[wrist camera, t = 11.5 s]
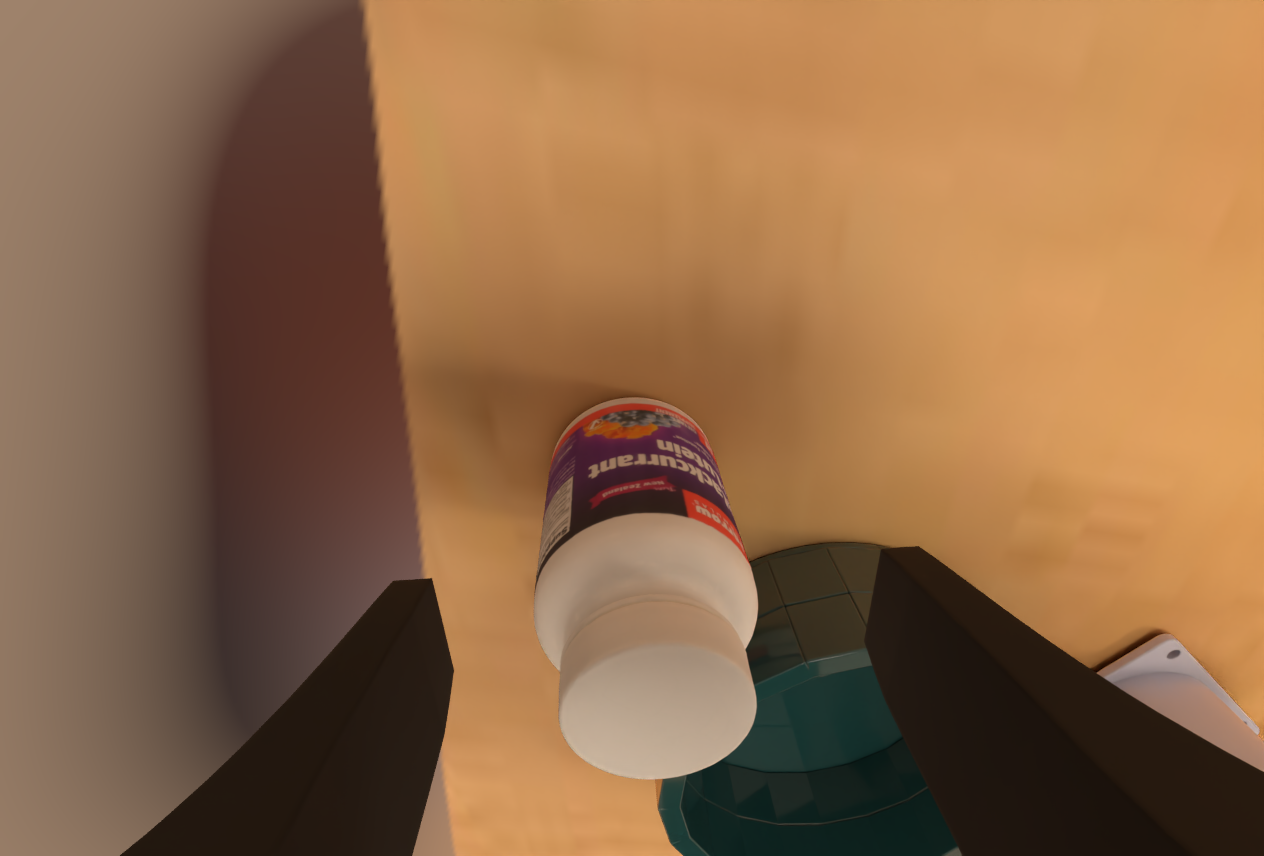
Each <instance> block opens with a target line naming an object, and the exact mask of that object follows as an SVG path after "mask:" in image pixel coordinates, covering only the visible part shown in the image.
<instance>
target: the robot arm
mask: <svg viewBox="0 0 1264 856" xmlns="http://www.w3.org/2000/svg"><path fill="white" fill-rule="evenodd" d="M864 643H865V645H866V648H867V651H868V654H869V657H870V660H871V663H872V666H873V669H874V672H875V675H876V677H877V680H878V683H879V685H880V688H881V691H882V694H883V696H884V699H885V701H886V704H887V706H888V708H889V710H890V712H891V714H892V716H893V718H894V720H895V722H896V724H897V726H898V728H899V730H900V732H901V734H902V736H903V738H904V740H905V742H906V744H907V746H908V748H909V750H910V752H911V754H912V756H913V758H914V760H915V762H916V764H917V766H918V768H919V770H920V772H921V774H922V776H923V778H924V780H925V782H926V784H927V786H928V788H929V790H930V792H931V794H932V796H933V798H934V800H935V802H936V804H937V806H938V808H939V810H940V812H941V814H942V816H943V818H944V820H945V822H946V824H947V826H948V828H949V830H950V832H951V834H952V836H953V838H954V840H955V842H956V844H957V846H958V848H959V850H960V852H961V855H962V856H1264V741H1263V740H1262V739H1261V738H1260V737H1259V736H1258V734H1259V731H1260V730H1259V728H1258V726H1257V725H1256V724H1255V723H1254V722H1253V721H1252V720H1251V719H1250V718H1249V717H1248V716H1247V715H1246V713H1245V712H1244V711H1243V710H1242V709H1241V708H1240V707H1239V706H1238V705H1237V704H1236V703H1235V702H1234V700H1233V699H1232V698H1231V697H1230V696H1229V695H1228V694H1227V693H1226V692H1225V691H1224V690H1223V689H1222V687H1221V686H1220V685H1219V684H1218V683H1217V682H1216V681H1215V680H1214V679H1213V678H1212V677H1211V676H1210V674H1209V673H1208V672H1207V671H1206V670H1205V669H1204V668H1203V667H1202V666H1201V665H1200V664H1199V663H1198V661H1197V660H1196V659H1195V658H1194V657H1193V656H1192V655H1191V654H1190V653H1189V652H1188V651H1187V650H1186V648H1185V647H1184V646H1183V645H1182V644H1181V643H1180V642H1179V641H1178V640H1177V639H1176V638H1175V637H1174V636H1173V635H1171V634H1160V635H1158V636H1156V637H1154V638H1153V639H1151V640H1149V641H1148V642H1146V643H1144V644H1143V645H1141V646H1139V647H1138V648H1136V649H1134V650H1133V651H1131V652H1129V653H1128V654H1126V655H1124V656H1123V657H1121V658H1119V659H1118V660H1116V661H1114V662H1113V663H1111V664H1109V665H1108V666H1106V667H1105V668H1103V669H1101V670H1100V671H1098V672H1094V671H1093V670H1091V669H1090V668H1088V667H1086V666H1085V665H1083V664H1082V663H1080V662H1079V661H1077V660H1076V659H1074V658H1073V657H1071V656H1070V655H1069V654H1067V653H1066V652H1064V651H1063V650H1061V649H1060V648H1058V647H1057V646H1055V645H1054V644H1052V643H1051V642H1050V641H1048V640H1047V639H1045V638H1044V637H1043V636H1041V635H1040V634H1038V633H1037V632H1035V631H1034V630H1033V629H1031V628H1030V627H1028V626H1027V625H1026V624H1024V623H1023V622H1021V621H1020V620H1019V619H1017V618H1016V617H1014V616H1013V615H1012V614H1010V613H1009V612H1008V611H1006V610H1005V609H1004V608H1002V607H1001V606H999V605H998V604H997V603H995V602H994V601H993V600H991V599H990V598H989V597H987V596H986V595H985V594H983V593H982V592H981V591H979V590H978V589H976V588H975V587H974V586H972V585H971V584H970V583H968V582H967V581H966V580H964V579H963V578H962V577H960V576H959V575H958V574H956V573H955V572H954V571H952V570H951V569H950V568H948V567H947V566H945V565H944V564H943V563H941V562H940V561H939V560H937V559H936V558H934V557H933V556H932V555H930V554H929V553H927V552H926V551H924V550H923V549H922V548H920V547H919V546H915V547H900V548H885V549H881V552H880V557H879V562H878V568H877V573H876V579H875V584H874V590H873V595H872V600H871V606H870V611H869V617H868V622H867V627H866V633H865V638H864ZM453 673H454V668H453V664H452V660H451V656H450V652H449V648H448V643H447V639H446V635H445V631H444V627H443V622H442V618H441V614H440V610H439V606H438V602H437V597H436V593H435V589H434V585H433V581H432V578H430V579H415V580H399V581H393V582H392V583H391V584H390V585H389V586H388V587H387V588H386V589H385V590H384V592H383V593H382V594H381V595H380V596H379V597H378V598H377V600H376V601H375V602H374V603H373V604H372V605H371V606H370V608H369V609H368V610H367V611H366V612H365V613H364V614H363V616H362V617H361V618H360V619H359V620H358V622H357V623H356V624H355V625H354V626H353V627H352V629H351V630H350V631H349V632H348V633H347V634H346V635H345V637H344V638H343V639H342V640H341V641H340V642H339V643H338V645H337V646H336V647H335V648H334V649H333V650H332V652H331V653H330V654H329V655H328V656H327V657H326V658H325V659H324V660H323V661H322V663H321V664H320V665H319V666H318V667H317V668H316V669H315V670H314V671H313V672H312V674H311V675H310V676H309V677H308V678H307V679H306V680H305V681H304V682H303V683H302V685H301V686H300V687H299V688H298V689H297V690H296V691H295V692H294V693H293V694H292V695H291V697H290V698H289V699H288V700H287V701H286V702H285V703H284V704H283V705H282V706H281V707H280V708H279V709H278V710H277V711H276V712H275V713H274V714H273V715H272V716H271V717H270V718H269V719H268V720H267V721H266V722H265V723H264V724H263V725H262V726H261V728H259V730H258V731H257V732H256V733H255V734H254V735H253V736H252V737H251V738H250V739H249V740H248V741H247V742H246V743H245V744H244V745H243V746H242V747H241V748H240V749H239V750H238V751H237V752H236V753H235V754H234V755H233V756H232V757H231V758H230V759H229V760H228V761H227V762H225V763H224V764H223V765H222V766H221V767H220V768H219V769H218V770H217V771H216V772H215V773H214V774H213V775H212V776H211V777H210V778H209V779H208V780H207V781H205V782H204V783H203V784H202V785H201V786H200V787H199V788H198V789H197V790H196V791H194V792H193V794H191V795H190V796H189V797H188V798H187V799H185V800H184V801H183V802H182V803H181V804H180V805H179V806H178V807H177V808H175V809H174V811H172V812H171V813H170V814H169V815H168V816H166V817H165V818H164V819H163V820H162V821H161V822H160V823H158V824H157V825H156V826H155V827H154V828H153V829H152V830H150V831H149V832H148V833H147V834H146V835H145V836H143V837H142V838H141V839H140V840H138V841H137V842H136V843H135V844H133V845H132V846H131V847H130V848H129V849H127V850H126V851H125V852H124V853H122V854H121V855H120V856H412V854H413V850H414V846H415V843H416V839H417V836H418V832H419V828H420V824H421V821H422V817H423V813H424V809H425V806H426V802H427V799H428V795H429V791H430V787H431V783H432V780H433V776H434V772H435V769H436V765H437V761H438V757H439V753H440V750H441V746H442V742H443V738H444V734H445V728H446V721H447V715H448V709H449V702H450V695H451V687H452V680H453Z"/></svg>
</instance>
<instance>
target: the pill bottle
mask: <svg viewBox="0 0 1264 856" xmlns="http://www.w3.org/2000/svg"><path fill="white" fill-rule="evenodd" d="M757 613H758V597H757V589H756V585H755V581H754V577H753V572H752V569H751V566H750V563H749V561H748V558H747V555H746V552H745V550H744V547H743V543H742V540H741V537H740V535H739V532H738V529H737V526H736V523H735V520H734V517H733V514H732V511H731V508H730V504H729V501H728V498H727V495H726V492H725V489H724V486H723V482H722V479H721V476H720V473H719V469H718V466H717V463H716V460H715V456H714V453H713V451H712V449H711V447H710V444H709V442H708V440H707V438H706V436H705V434H704V432H703V431H702V429H701V428H700V427H699V425H698V424H697V423H696V422H695V421H694V420H693V419H692V418H691V417H689V416H688V415H687V414H686V413H684V412H683V411H681V410H680V409H678V408H676V407H674V406H672V405H670V404H668V403H665V402H662V401H659V400H654V399H650V398H639V397H629V398H619V399H614V400H610V401H606V402H603V403H601V404H598V405H596V406H594V407H592V408H590V409H588V410H587V411H585V412H583V413H582V414H581V415H579V416H578V417H577V418H576V419H574V420H573V421H572V422H571V423H570V424H569V426H568V427H567V428H566V429H565V431H564V432H563V434H562V435H561V437H560V438H559V440H558V442H557V444H556V447H555V449H554V453H553V456H552V461H551V466H550V471H549V479H548V488H547V495H546V503H545V511H544V518H543V528H542V536H541V545H540V553H539V562H538V570H537V575H536V585H535V598H534V622H535V629H536V633H537V636H538V639H539V642H540V644H541V647H542V649H543V650H544V652H545V654H546V655H547V657H548V658H549V660H550V661H551V663H552V664H553V665H554V666H555V667H556V668H557V669H558V670H559V671H560V683H559V724H560V728H561V731H562V734H563V736H564V738H565V740H566V741H567V743H568V745H569V746H570V748H571V749H572V750H573V751H574V752H575V753H576V754H577V755H579V756H580V757H581V758H582V759H583V760H585V761H586V762H587V763H589V764H591V765H593V766H594V767H596V768H598V769H601V770H603V771H605V772H608V773H611V774H614V775H618V776H622V777H627V778H634V779H666V778H672V777H679V776H683V775H687V774H691V773H694V772H697V771H699V770H702V769H704V768H707V767H709V766H711V765H713V764H715V763H717V762H718V761H720V760H721V759H723V758H724V757H726V756H728V755H729V754H730V753H731V752H732V751H734V750H735V749H736V748H737V747H738V746H739V745H740V744H741V742H742V741H743V740H744V738H745V737H746V736H747V734H748V733H749V731H750V729H751V727H752V725H753V722H754V719H755V715H756V708H757V702H756V693H755V688H754V684H753V681H752V676H751V672H750V668H749V664H748V659H747V654H746V651H745V649H746V647H747V646H748V644H749V642H750V640H751V638H752V635H753V632H754V629H755V625H756V621H757Z"/></svg>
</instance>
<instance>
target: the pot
mask: <svg viewBox="0 0 1264 856" xmlns="http://www.w3.org/2000/svg"><path fill="white" fill-rule="evenodd" d="M885 548H888V547H884V546H879V545H873V544H862V543H825V544H816V545H808V546H802V547H798V548H793V549H789V550H784V551H780V552H777V553H774V554H771V555H768V556H765V557H762V558H759V559H756V560H754V561H752V562H750V566H751V569H752V572H753V577H754V581H755V585H756V589H757V597H758V613H757V621H756V625H755V629H754V632H753V635H752V638H751V640H750V642H749V644H748V646H747V647H746V649H745V651H746V654H747V659H748V664H749V668H750V672H751V676H752V681H753V684H754V688H755V693H756V702H757V708H756V715H755V719H754V722H753V725H752V727H751V729H750V731H749V733H748V734H747V736H746V737H745V738H744V740H743V741H742V742H741V744H740V745H739V746H738V747H737V748H736V749H735V750H734V751H732V752H731V753H730V754H729V755H728V756H726V757H724V758H723V759H721V760H720V761H718V762H717V763H715V764H713V765H711V766H709V767H707V768H704V769H702V770H699V771H697V772H694V773H691V774H687V775H683V776H679V777H672V778H666V779H655V784H656V795H657V806H658V811H659V814H660V817H661V819H662V822H663V825H664V828H665V830H666V833H667V836H668V839H669V841H670V843H671V845H672V846H673V847H675V848H676V849H677V850H678V851H679V852H680V853H681V854H682V855H683V856H962V855H961V852H960V850H959V848H958V846H957V844H956V842H955V840H954V838H953V836H952V834H951V832H950V830H949V828H948V826H947V824H946V822H945V820H944V818H943V816H942V814H941V812H940V810H939V808H938V806H937V804H936V802H935V800H934V798H933V796H932V794H931V792H930V790H929V788H928V786H927V784H926V782H925V780H924V778H923V776H922V774H921V772H920V770H919V768H918V766H917V764H916V762H915V760H914V758H913V756H912V754H911V752H910V750H909V748H908V746H907V744H906V742H905V740H904V738H903V736H902V734H901V732H900V730H899V728H898V726H897V724H896V722H895V720H894V718H893V716H892V714H891V712H890V710H889V708H888V706H887V704H886V701H885V699H884V696H883V694H882V691H881V688H880V685H879V683H878V680H877V677H876V675H875V672H874V669H873V666H872V663H871V660H870V657H869V654H868V651H867V648H866V645H865V643H864V638H865V633H866V627H867V622H868V617H869V611H870V606H871V600H872V595H873V590H874V584H875V579H876V573H877V568H878V562H879V557H880V552H881V549H885Z"/></svg>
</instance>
